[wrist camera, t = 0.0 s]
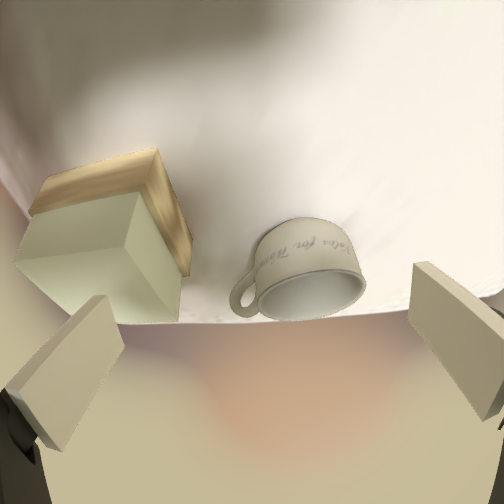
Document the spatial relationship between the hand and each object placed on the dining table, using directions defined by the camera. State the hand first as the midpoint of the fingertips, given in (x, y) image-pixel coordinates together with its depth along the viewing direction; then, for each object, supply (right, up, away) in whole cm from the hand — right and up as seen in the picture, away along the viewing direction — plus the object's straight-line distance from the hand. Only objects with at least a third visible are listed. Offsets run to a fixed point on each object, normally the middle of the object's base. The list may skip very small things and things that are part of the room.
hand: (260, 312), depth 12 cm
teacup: (+3, +4, +21) cm, 22 cm away
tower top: (-13, +3, +13) cm, 19 cm away
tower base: (-13, +7, +16) cm, 22 cm away
